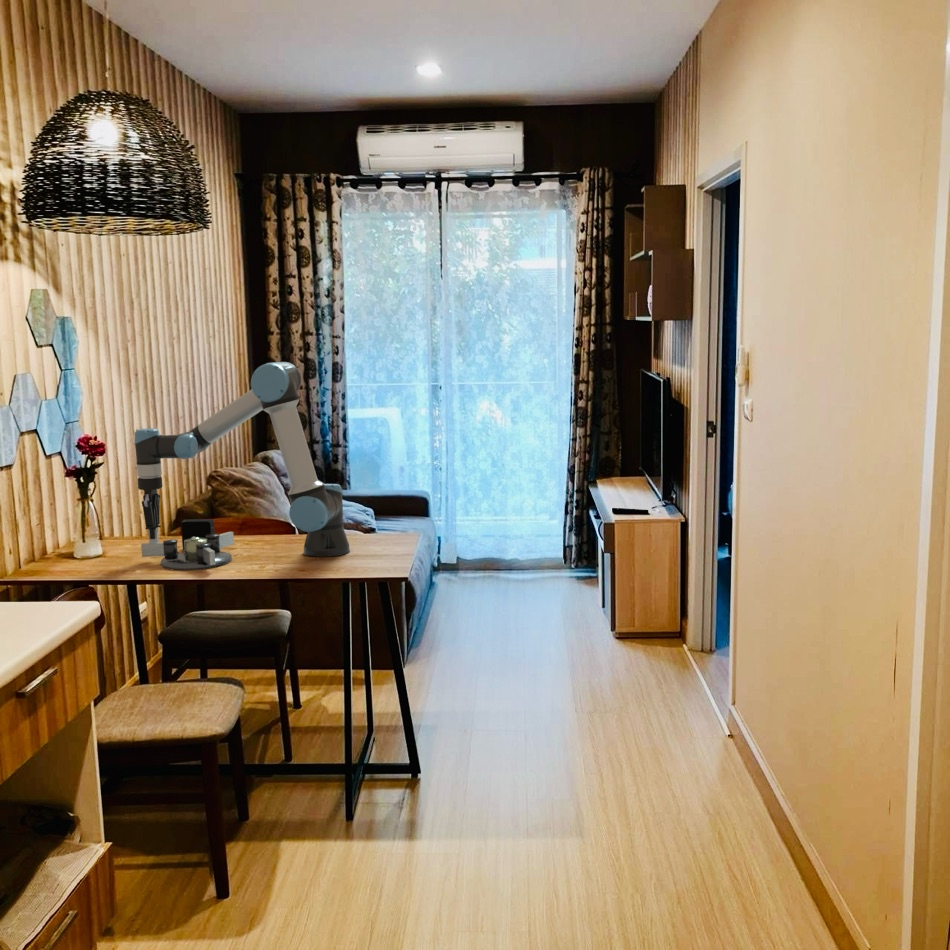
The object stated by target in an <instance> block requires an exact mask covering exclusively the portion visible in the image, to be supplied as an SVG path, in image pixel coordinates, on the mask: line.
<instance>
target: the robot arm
mask: <svg viewBox="0 0 950 950" xmlns="http://www.w3.org/2000/svg"><path fill="white" fill-rule="evenodd" d="M301 386H302V374H301V372H300V370H299V369H298V367H297V366H295V365H294V364H293V363H291V362H287V361H276V362H275V361H274V362H266V363H265V364H262V365H260V366H258V367H257V368H256V369H255V370H254V372H253V373H252V376H251V380H250V387H251V389H250V390H248V391H246V393H243V394H242V395H241V396H238V398H236V399H235V400H233V401H232V402H231V403H229V404H228V405H226V406H224V407H223V408H221V409H220V410H217V412H216V413H214V414H213V415H211V416H210V417H208V418H207V419H205V420H204V421H202V422H201V423H199V424H198V425H196V426H195V427H193V428H191V429H189V431H186V432H182V433H179V434H164V435H163V434H160V431H159V429H158V428H140V429H137V430H135V432H134V448H135V459H136V460H135V461H136V463H135V464H136V466H135V467H134V470H136V473H137V474H136V475H137V478H136V479H137V488H138V490H140V491H144V492H143V496H142V500H141V505H142V510H143V515H144V524H145V528H144V529H145V530H148V543H160V539H159V528H161V527H162V524H161V520H160V519H161V517H160V515H161V512H160V510H161V509H160V508H161V507H160V506H161V494H159V493H158V490H161V489H162V488H163V477H162V476H161V475H162V474H163V473H162V472H163V471H162V462H161V461H162V459H182V460H185V459H192V458H195V457H196V455H197V454H200V453H202V452H203V451H205V450H207V449H208V448H209V446H210V445H212V444H213V443H215V442H216V441H218V440H219V439H221V438H222V437H224V436H225V435H227V434H228V433H230V432H231V431H233V430H234V429H236V428H237V427H238V426H240V425H242V424H243V423H245V422H246V421H248V420H249V419H251V418H252V417H254V416H256V415H257V414H259V413H260V412H262V411H264V412H265V413H267V414H269V417H270V420H271V423H272V427H273V430H274V435H275V437H276V440H277V444H278V447H279V451H280V454H281V458H282V460H283V465H284V467H285V472H286V474H287V478H288V481H289V485H290V489H289V491H288V493H287V495H288V497H289V502H290V507H289V518H290V520H291V523H292V524H293V526H294V527H296V528H297V529H299V530H301V531H302V532H307V533H306V536H305V540H304V545H303V554H304V555H306V556H309V557H314V558H315V557H316V558H317V557H318V558H322V557H323V558H325V557H328V558H329V557H335V556H336V557H337V556H338V557H339V556H342V555H345V554H347V553H349V552H350V548H351V547H350V543H349V541H348V537H347V535H346V532H345V528H344V509H343V507H344V506H343V489H342V486H341V485H340V484H339V483H324V482H322V481H321V480H319V479H318V476H317V473H316V469H315V466H314V462H313V459H312V456H311V452H310V449H309V446H308V442H307V438H306V436H305V432H304V429H303V425H302V421H301V418H300V415H299V412H298V409H297V405H298V404H299V401H300V397H299V394H298V391H299V390H300V388H301ZM160 524H161V525H160Z"/></svg>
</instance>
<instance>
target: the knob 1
mask: <svg viewBox="0 0 950 950" xmlns="http://www.w3.org/2000/svg"><path fill="white" fill-rule="evenodd" d="M140 547H141V548H140V549H141V557H142V558H144V557H145V558H147V557H151V558H152V557H164V558H165V559H166V560H172V559H177V558H178V554H179V552H178V539H175V538H174V539H164V540H162V542H160V541H159V543H149V542H142V543H141V544H140Z"/></svg>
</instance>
